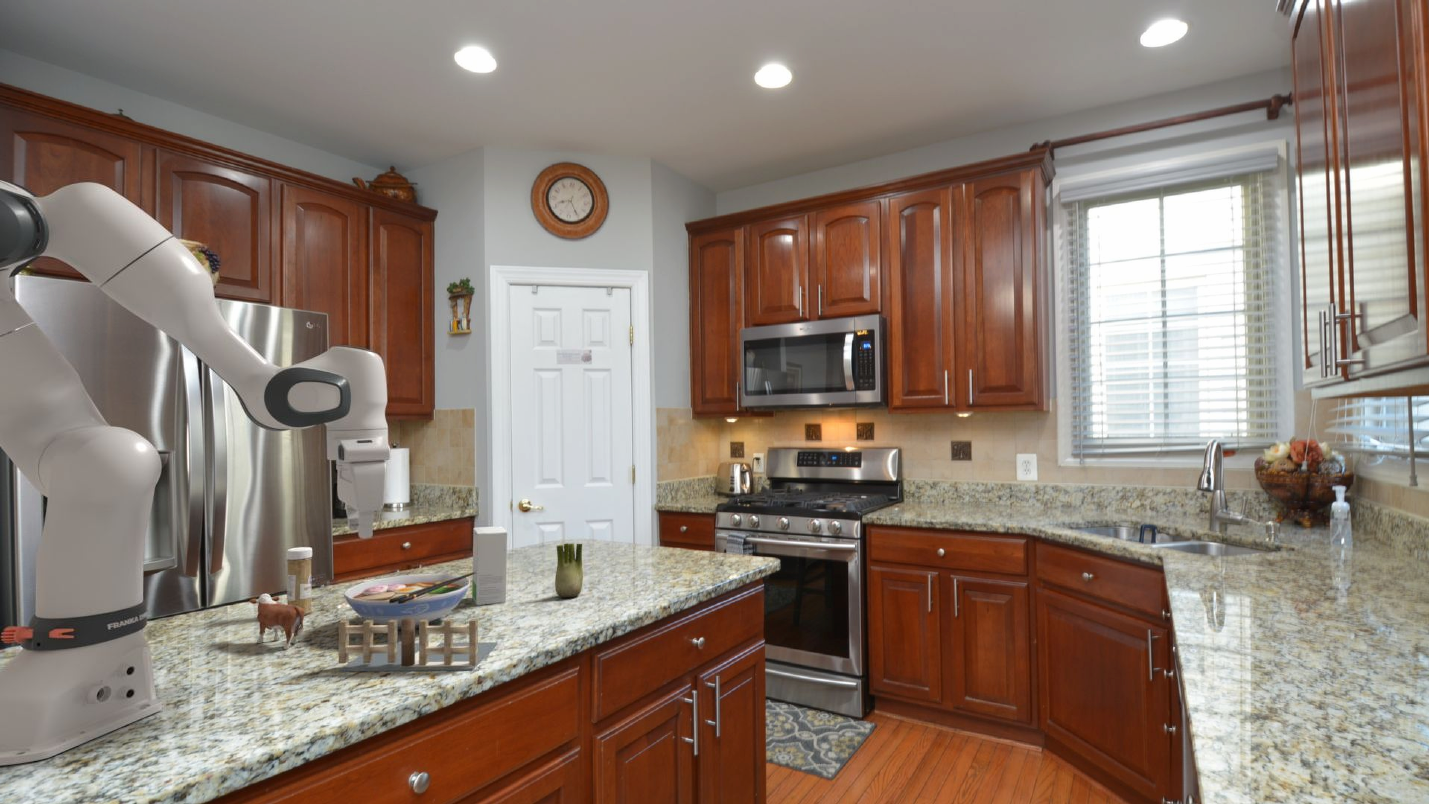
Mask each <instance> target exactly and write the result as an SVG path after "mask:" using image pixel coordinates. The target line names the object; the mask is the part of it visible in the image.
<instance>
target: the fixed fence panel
mask: <svg viewBox="0 0 1429 804" xmlns="http://www.w3.org/2000/svg"><path fill="white" fill-rule="evenodd" d="M468 624H469V625H454V619H453V618H447V619H445V620H444V622H443V625H429V623H428V619H422V620H421V621H419V627H418V643H419V665H426V664H428V655H440V654H444V665H451V664H452V663H453V654H469V665H476V664H477V663H478V643H479V619H478V618H471V619H469V621H468ZM435 634H437V635H441V634H443V635H444V636H443V637H444V638H443V643H444V646H433V647H428V643H429V635H435ZM455 634H468V643H469V646H453V643H454V635H455Z"/></svg>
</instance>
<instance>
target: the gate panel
mask: <svg viewBox="0 0 1429 804" xmlns="http://www.w3.org/2000/svg"><path fill="white" fill-rule="evenodd" d="M350 634H363V635H362V637H363V638H362V640H363V641H362V643H363V644H360V645H354V644H353V645H352V644H351V645H350ZM374 634H387V644H388V645H377V644H374ZM397 643H398V629H397V620H390V621H389V622H388V625H380V624H375V625H374V623H373V620H366V619H365V620H364V621H363V624H362V625H350V620H349V619H348V620H347V619H346V620H345V619H342V620H340V621H339V622H338V664H346V663H349V661H350V657H349V656H350V655H351V654H354V655H355V654H363V663H370V662H372V661H373V653H388V663H394V662H396V661H397Z"/></svg>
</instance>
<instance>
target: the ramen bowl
mask: <svg viewBox="0 0 1429 804" xmlns="http://www.w3.org/2000/svg"><path fill="white" fill-rule="evenodd" d="M473 574H475V573H474V572H473V571H472V572H471V573H467V574H465V575H459V574H458V575H457V574H449V573H419V574H404V575H396V576H389V577H384V578H382V577H381V578H377V579H372V580H369V581H365V582H361V583H358V584H355V585H353V586H350V587H348V588H347V589H345V591H344V593H343V597H344V599H345V600H346V602H347V604H348V605H349V606H350V607H351V609H352V610H354V612H356V613H357V615H358V616H360V617H361V618H363V619H364V620H365V621H366V620H373V624H375V625H388V622H389V621H390V620H397V630H401V620H402V619H405V618H415V629H417V628H419V621H421V620H422V619H428V624H429V623H431V622H432V621H436V620H437V619H439V618H442V617H443V616H445V615H447V614H448V613H450V612H451V611H453V610H454V609H455V608H456V607H457V606H458V605H459V604H460V602H461V601H462V600H463V598H464V597H465V595H466V594H467V591H468V589H469V587H470V586H471V579H470V578H468V577H470V576H473Z"/></svg>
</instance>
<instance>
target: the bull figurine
mask: <svg viewBox="0 0 1429 804" xmlns="http://www.w3.org/2000/svg"><path fill="white" fill-rule="evenodd" d="M279 600H280V597H279V596H273V597H271V595H270V594H269V593H262V594H260V596H259V597H258V598H251V599H250V600H249V603H250V604H252V605H255V604H257V615H256V616H257V617H256V619H257V621H258V623H259V624H258V625H259V630H258V631H259V632H258V633H259V636H258V638H257V640H256V642H255V643H260V644H263V643H264V641H265V640H264V635H265V633H266V629H267V630H269V631H271V630H273V632H274V637H273V642H276V641H277V640H278V641H281V636H280V634H279V630H280V633H281V634H284V635H285V640H286V641H285V645H284V646H283V648H282V649H283V650H289V649H288V648H290V647H291V645H292V643H293V644H297V643H298V641H299V640H298V639H301V638H302V636H303V633H304V623H303V621H304V620H305V619H304V618H305V615H304V610H303V609H302V608H300V607H298V606H293V605H288V604H285V603H284V604H283V603H281V602H279ZM292 636H293V637H292ZM262 642H263V643H262Z"/></svg>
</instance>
